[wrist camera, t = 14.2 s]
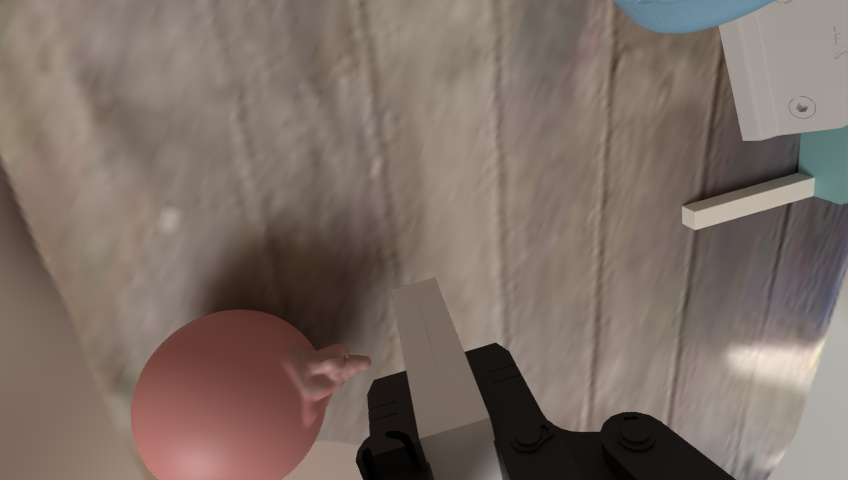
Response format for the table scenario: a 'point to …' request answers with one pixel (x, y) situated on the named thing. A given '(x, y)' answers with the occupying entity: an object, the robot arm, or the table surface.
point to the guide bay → (784, 183)
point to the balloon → (235, 398)
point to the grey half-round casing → (789, 67)
